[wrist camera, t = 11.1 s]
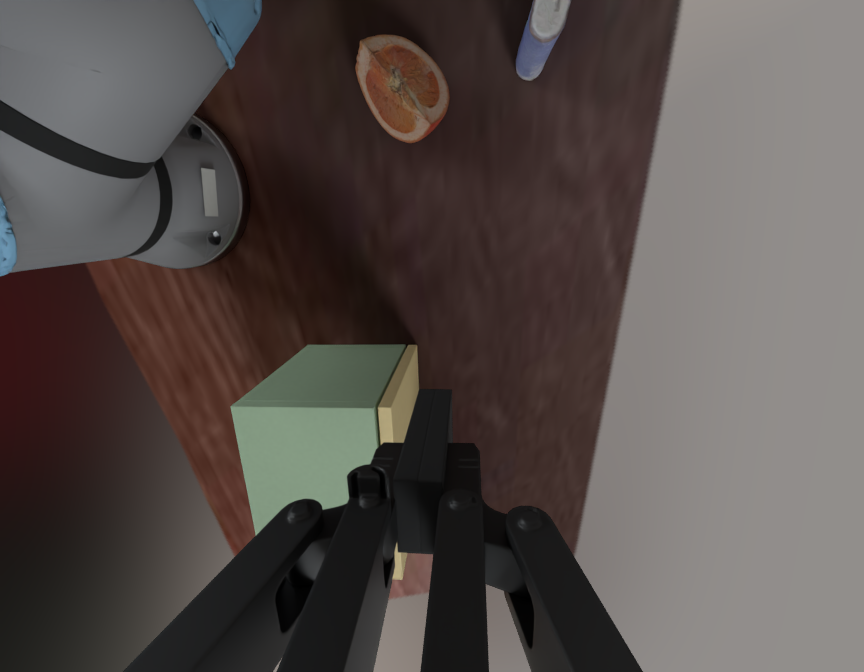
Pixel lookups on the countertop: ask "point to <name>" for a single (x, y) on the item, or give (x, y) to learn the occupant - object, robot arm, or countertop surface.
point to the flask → (540, 36)
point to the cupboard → (312, 425)
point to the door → (399, 416)
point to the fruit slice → (401, 86)
